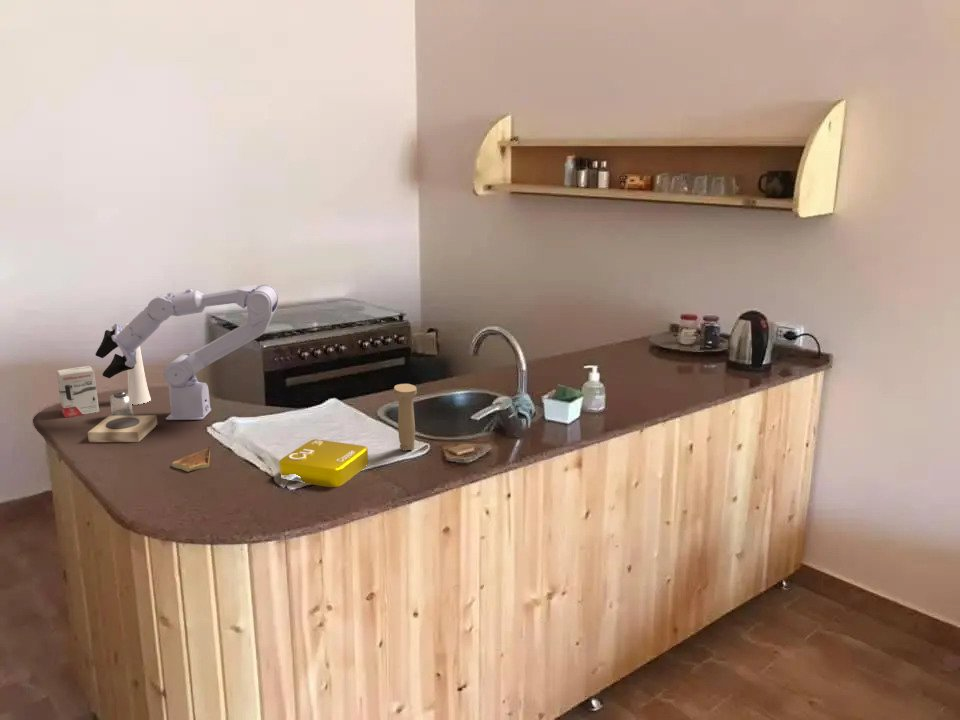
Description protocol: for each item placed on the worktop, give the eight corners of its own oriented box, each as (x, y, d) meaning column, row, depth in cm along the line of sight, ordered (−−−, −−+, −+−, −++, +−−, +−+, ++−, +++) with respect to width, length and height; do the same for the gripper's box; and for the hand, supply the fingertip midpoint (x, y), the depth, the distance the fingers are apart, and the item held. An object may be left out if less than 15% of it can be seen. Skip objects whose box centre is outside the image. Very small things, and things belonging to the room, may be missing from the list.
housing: (136, 414, 220) (133, 389, 218) (128, 421, 215) (125, 395, 213) (117, 414, 220) (114, 389, 218) (109, 421, 215) (105, 395, 213)
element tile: (337, 490, 174) (336, 468, 173) (276, 480, 179) (275, 459, 178) (371, 464, 188) (370, 444, 186) (313, 455, 193) (312, 436, 191)
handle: (413, 443, 199) (411, 382, 195) (421, 452, 193) (419, 390, 189) (393, 445, 197) (391, 385, 193) (400, 455, 191) (398, 393, 187)
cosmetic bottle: (128, 399, 233) (118, 322, 227) (151, 397, 234) (142, 320, 228) (126, 405, 227) (116, 327, 221) (150, 403, 229) (141, 325, 223)
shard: (210, 452, 195) (209, 445, 194) (232, 459, 191) (232, 452, 190) (171, 468, 186) (170, 460, 186) (193, 475, 182) (192, 468, 182)
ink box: (64, 418, 218) (58, 374, 214) (62, 413, 222) (55, 370, 218) (100, 412, 222) (94, 369, 219) (96, 407, 226) (90, 365, 223)
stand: (157, 424, 212) (156, 414, 212) (138, 441, 201) (137, 430, 200) (110, 425, 212) (108, 414, 212) (88, 442, 201) (87, 431, 200)
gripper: (118, 306, 213) (82, 341, 215) (132, 344, 205) (95, 380, 207) (140, 317, 219) (105, 351, 221) (155, 354, 211) (119, 389, 213)
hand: (102, 366), depth 214 cm, fingers open, 7 cm apart
